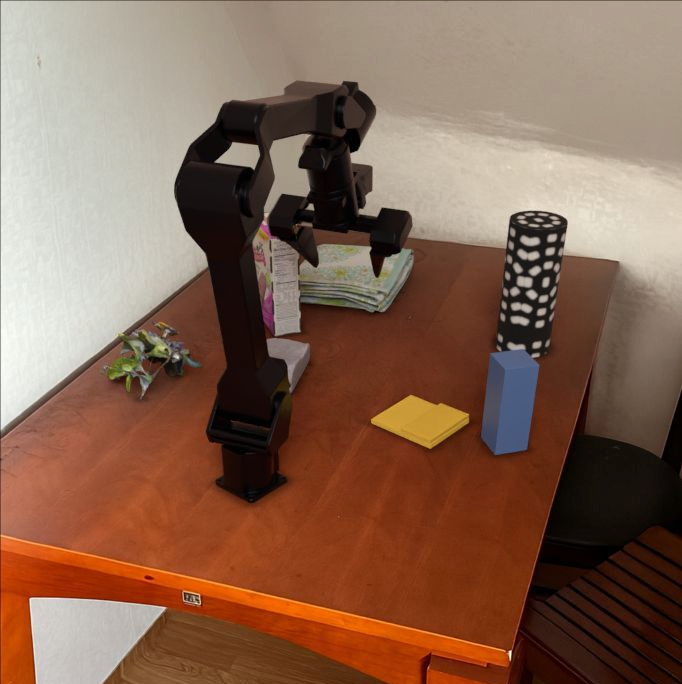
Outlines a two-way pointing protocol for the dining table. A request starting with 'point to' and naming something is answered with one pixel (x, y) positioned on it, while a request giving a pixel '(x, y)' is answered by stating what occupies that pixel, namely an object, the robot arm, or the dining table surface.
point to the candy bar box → (278, 282)
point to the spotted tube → (530, 281)
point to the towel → (353, 278)
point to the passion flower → (150, 356)
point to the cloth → (421, 421)
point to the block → (509, 401)
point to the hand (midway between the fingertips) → (347, 270)
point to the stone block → (290, 357)
